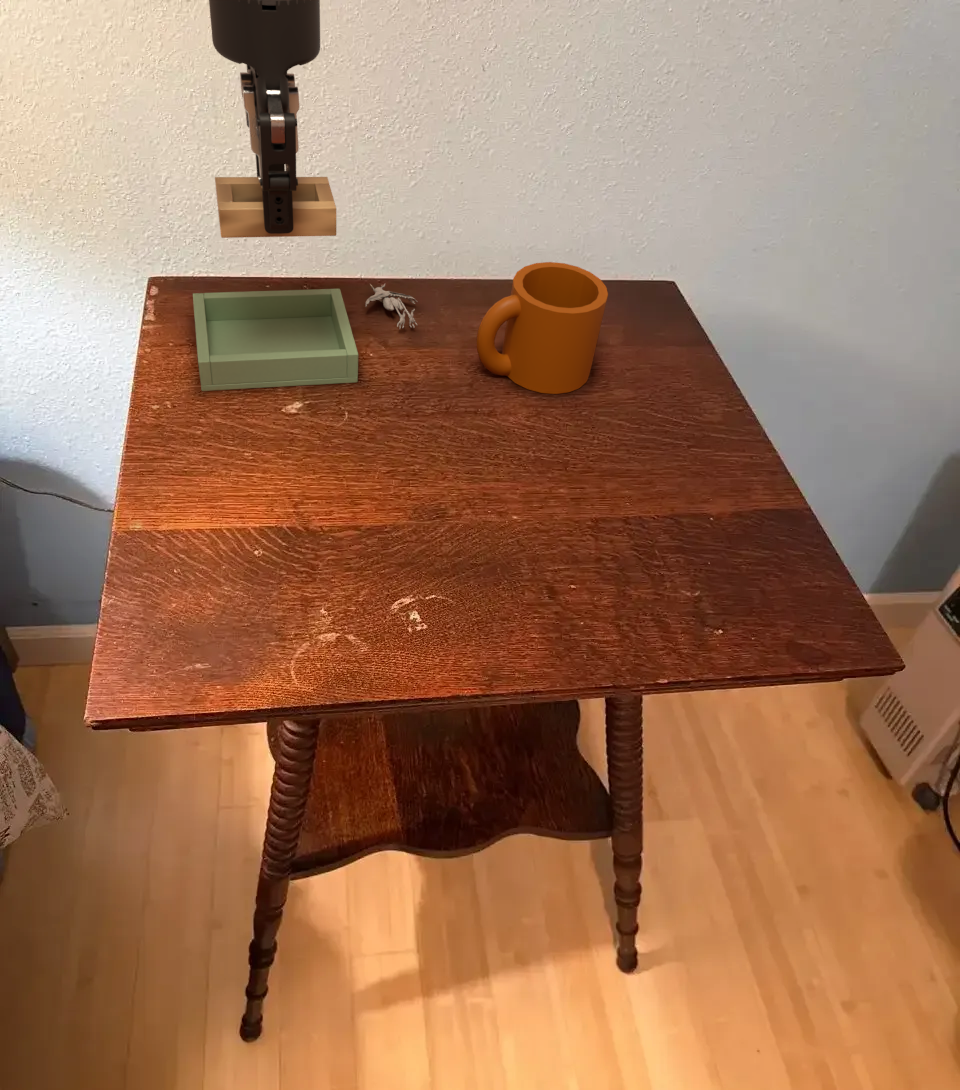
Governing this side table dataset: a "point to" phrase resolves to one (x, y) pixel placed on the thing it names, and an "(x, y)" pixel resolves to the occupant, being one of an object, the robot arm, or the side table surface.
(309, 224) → the frame
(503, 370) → the mug
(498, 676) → the side table surface
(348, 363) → the holder
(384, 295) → the figurine
